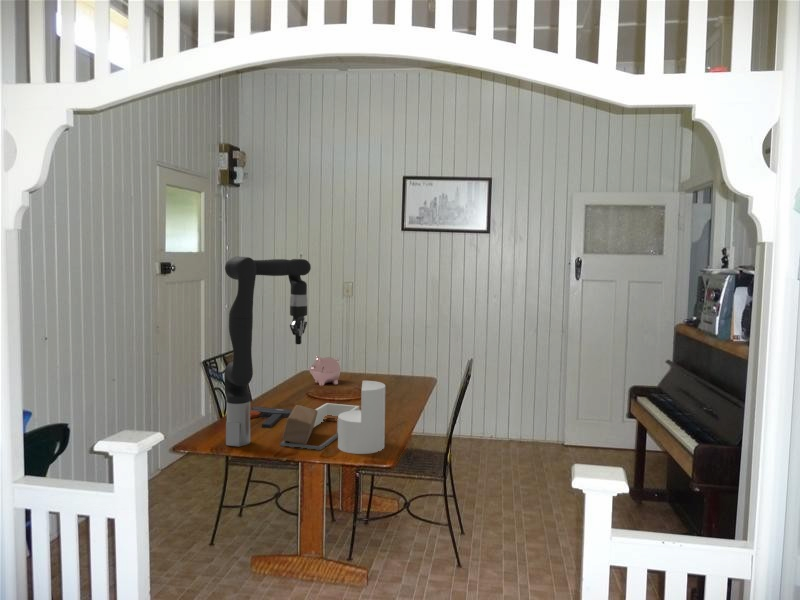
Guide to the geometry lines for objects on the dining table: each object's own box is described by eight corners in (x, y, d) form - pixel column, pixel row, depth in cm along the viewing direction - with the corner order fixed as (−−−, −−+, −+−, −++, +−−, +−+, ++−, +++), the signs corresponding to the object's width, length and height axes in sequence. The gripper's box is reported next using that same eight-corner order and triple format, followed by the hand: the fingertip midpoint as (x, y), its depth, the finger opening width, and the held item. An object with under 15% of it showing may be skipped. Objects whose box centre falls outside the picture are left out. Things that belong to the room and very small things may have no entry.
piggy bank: (306, 381, 383) (306, 355, 381) (335, 379, 390) (335, 353, 389) (314, 387, 369) (314, 359, 368) (344, 384, 376) (344, 357, 375)
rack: (339, 435, 276) (339, 419, 276) (304, 431, 281) (304, 415, 280) (359, 421, 299) (359, 406, 299) (326, 417, 304) (326, 403, 303)
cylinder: (386, 440, 270) (387, 381, 268) (382, 454, 252) (383, 391, 250) (341, 438, 272) (342, 379, 270) (334, 453, 253) (334, 389, 251)
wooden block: (295, 403, 279) (287, 417, 259) (318, 409, 279) (311, 424, 259) (289, 425, 280) (281, 440, 260) (312, 431, 280) (305, 447, 260)
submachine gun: (227, 419, 291) (255, 405, 315) (227, 425, 291) (255, 411, 315) (291, 425, 282) (315, 411, 306) (291, 432, 282) (315, 417, 306)
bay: (320, 450, 256) (320, 447, 256) (280, 445, 261) (280, 442, 260) (340, 435, 276) (340, 432, 276) (303, 431, 281) (303, 428, 281)
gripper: (299, 306, 277) (299, 346, 278) (312, 303, 289) (312, 342, 291) (283, 305, 279) (283, 345, 280) (297, 303, 291) (297, 341, 293)
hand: (298, 344), depth 285 cm, fingers closed
